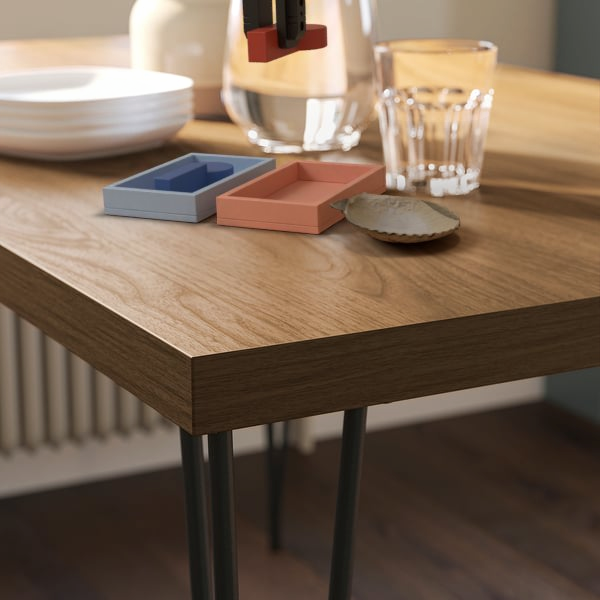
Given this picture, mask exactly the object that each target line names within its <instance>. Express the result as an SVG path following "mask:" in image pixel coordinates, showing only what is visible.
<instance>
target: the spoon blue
mask: <svg viewBox="0 0 600 600" xmlns="http://www.w3.org/2000/svg"><path fill="white" fill-rule="evenodd" d="M233 174H234V167H233V165H232V164H229V163H224V162H202V163H190V164H188V165H185V166H183V167H180V168H178V169H175V170H173V171H171V172H168V173H166V174H163V175H161V176H158V177H156V178H154V181H155V190H161V191H173V192H185V193H193V192H196V191H198V190H200V189H202V188H204V187H207V186H209V185H211V184H213V183H215V182H218V181H220V180H222V179H224V178H226V177H229V176H231V175H233Z"/></svg>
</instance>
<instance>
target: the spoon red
mask: <svg viewBox="0 0 600 600" xmlns="http://www.w3.org/2000/svg"><path fill="white" fill-rule="evenodd" d="M246 40H247V41H246V42H247V43H246V44H247V60H248V63H256V64H257V63H259V64H260V63H261V64H267V63H270V62H274V61H277V60H279V59H281V58H284V57H287V56H289V55H293V54H295V53H298V52H303V51H315V50H321V49H325V48H327V47H328V27H327V26H326V25H324V24H318V23H306V33H305V36H304V38H301V39H299V45H298V46H297V47H294V48H291V49H280V48H279V46H278V36H277V29H276V22H275V23H273V24H272V25H268V26H265V27H262V28H258V29H255V30H252V31H248V32H247V39H246Z"/></svg>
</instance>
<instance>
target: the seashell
mask: <svg viewBox="0 0 600 600" xmlns="http://www.w3.org/2000/svg"><path fill="white" fill-rule="evenodd" d="M330 207H332V208H333V209H337V210H341V212H342V213H343V214H344V215H345V217H344V218H345V220H346V222H348V224H349V225H350V226H352V227H353V228H354V229H356V230H357V231H359V232H360V233H362V234H364V235H366V236H368V237H371V238H373V239H376V240H379V241H383V242H389V243H395V244H403V245H405V244H415V243H423V242H429V241H432V240H437V239H440V238H444V237H446V236H448V235H451V234H453V233H455V232H456V231H459V228H460V227H461V219H460V217H459V216H458V215H457V214H456V213H455V212H453V210H450V209H449V208H447V207H445V206H443V205H441V204H439V203H437V202H433V201H428V200H424V199H421V198H417V197H411V196H410V197H409V196H400V195H388V194H380V195H376V194H367V193H365V192H362V193H358V194H355V195H353V196H351V197H349V199H348V198H345V199H341V200H338V201H336V202H333V203H330Z"/></svg>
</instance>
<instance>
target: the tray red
mask: <svg viewBox="0 0 600 600" xmlns="http://www.w3.org/2000/svg"><path fill="white" fill-rule="evenodd" d="M386 191H387V166H386V165H379V164H364V163H349V162H334V161H323V160H322V161H320V160H304V159H293V160H291V161H288V162H287V163H283V164H282V165H280V166H278V167H276V169H274V170H272V171H270V172H268V173H265V174H263V175H261V176H259V177H257V178H255V179H253V180H251V181H249V182H247V183H245V184H242V185H240V186H238V187H236V188H234V189H232V190H230V191H228V192H226V193H224V194H222V195H220V196H218V197H216V205H217V213H216V224H217V225H218V226H227V227H237V228H248V229H259V230H268V231H269V230H270V231H279V232H291V233H301V234H311V235H312V234H314V235H319V234H321V233H322V232H324V231H326V230H327V229H329V228H330V227H332V226H333V225H335V224H337V223H338V222H340V221H341V220H343V219H344V218H346V217H345V215H344V214H343V213H342V212H341V210H337V209H333V208H332V207H330V203H333V202H336V201H338V200H341V199H345V198H348V199H349V197H351V196H353V195H355V194H358V193H362V192H365V193H367V194H376V195H383V194H384V193H385V192H386Z"/></svg>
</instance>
